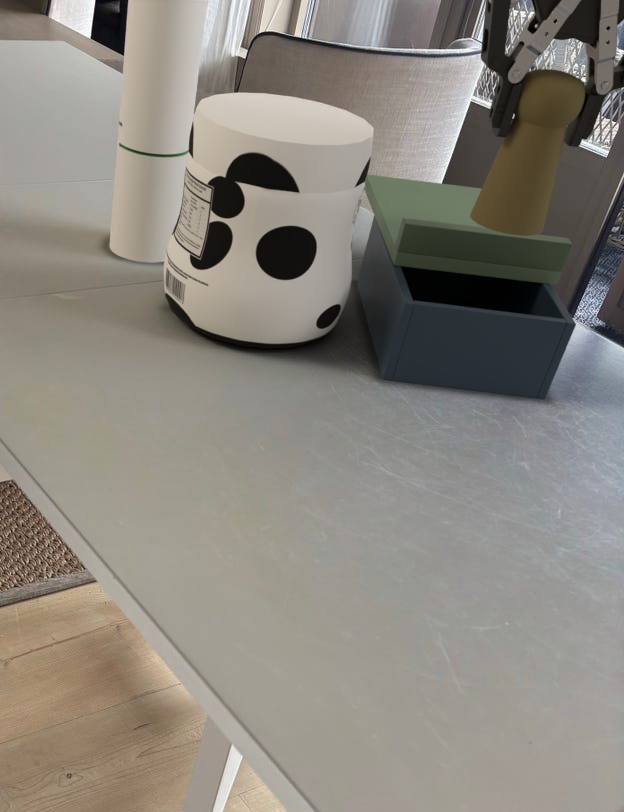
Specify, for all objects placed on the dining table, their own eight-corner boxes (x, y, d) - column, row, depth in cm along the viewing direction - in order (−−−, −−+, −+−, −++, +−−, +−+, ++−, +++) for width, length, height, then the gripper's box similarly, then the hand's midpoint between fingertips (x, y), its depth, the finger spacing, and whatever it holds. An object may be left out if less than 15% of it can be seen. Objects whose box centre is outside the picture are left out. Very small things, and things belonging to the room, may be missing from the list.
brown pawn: (455, 216, 80) (501, 65, 73) (494, 204, 84) (542, 59, 76) (519, 240, 77) (573, 86, 70) (557, 227, 81) (612, 79, 73)
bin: (491, 305, 103) (517, 232, 98) (542, 405, 87) (576, 324, 82) (355, 289, 102) (374, 214, 97) (381, 385, 86) (405, 302, 81)
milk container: (361, 319, 97) (413, 121, 85) (298, 384, 85) (348, 165, 73) (205, 271, 102) (234, 78, 90) (125, 326, 90) (145, 112, 78)
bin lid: (500, 202, 105) (512, 166, 102) (556, 285, 88) (573, 243, 85) (362, 185, 104) (371, 148, 102) (393, 265, 87) (405, 223, 85)
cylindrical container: (168, 243, 107) (201, -30, 90) (181, 269, 102) (218, -16, 85) (104, 240, 105) (125, -38, 89) (114, 266, 100) (137, -23, 83)
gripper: (536, -146, 62) (453, 141, 73) (756, -117, 62) (639, 165, 74) (510, -153, 68) (436, 115, 79) (711, -126, 68) (609, 137, 79)
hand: (535, 138), depth 76 cm, fingers closed on brown pawn, 5 cm apart
